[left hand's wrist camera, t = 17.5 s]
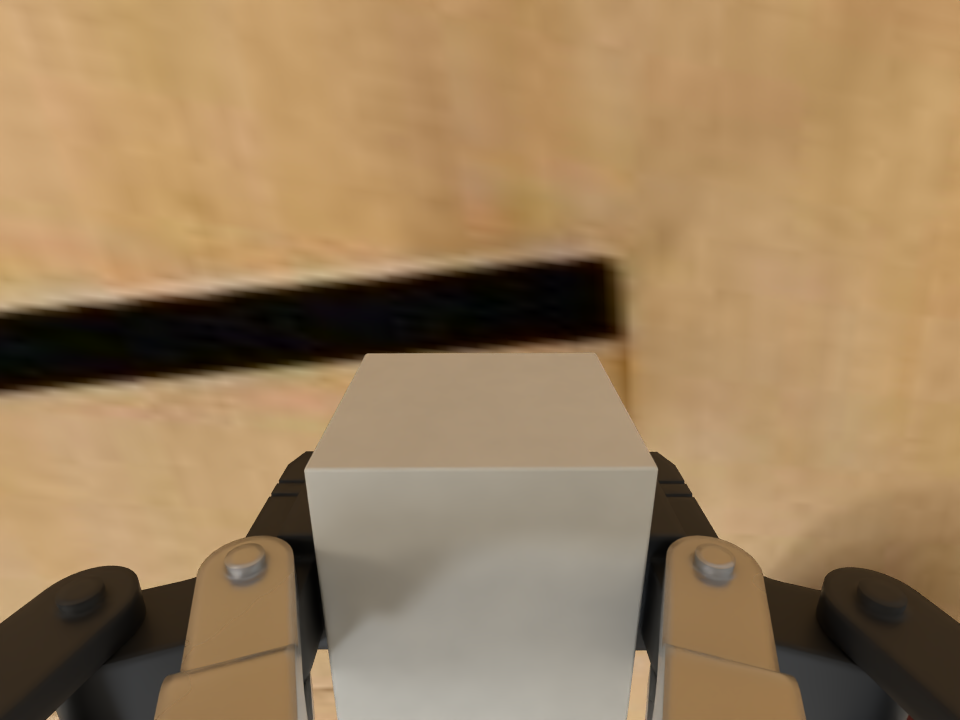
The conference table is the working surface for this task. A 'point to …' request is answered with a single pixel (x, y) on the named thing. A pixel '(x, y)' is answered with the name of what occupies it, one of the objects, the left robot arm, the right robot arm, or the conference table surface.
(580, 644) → the block
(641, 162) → the conference table surface
